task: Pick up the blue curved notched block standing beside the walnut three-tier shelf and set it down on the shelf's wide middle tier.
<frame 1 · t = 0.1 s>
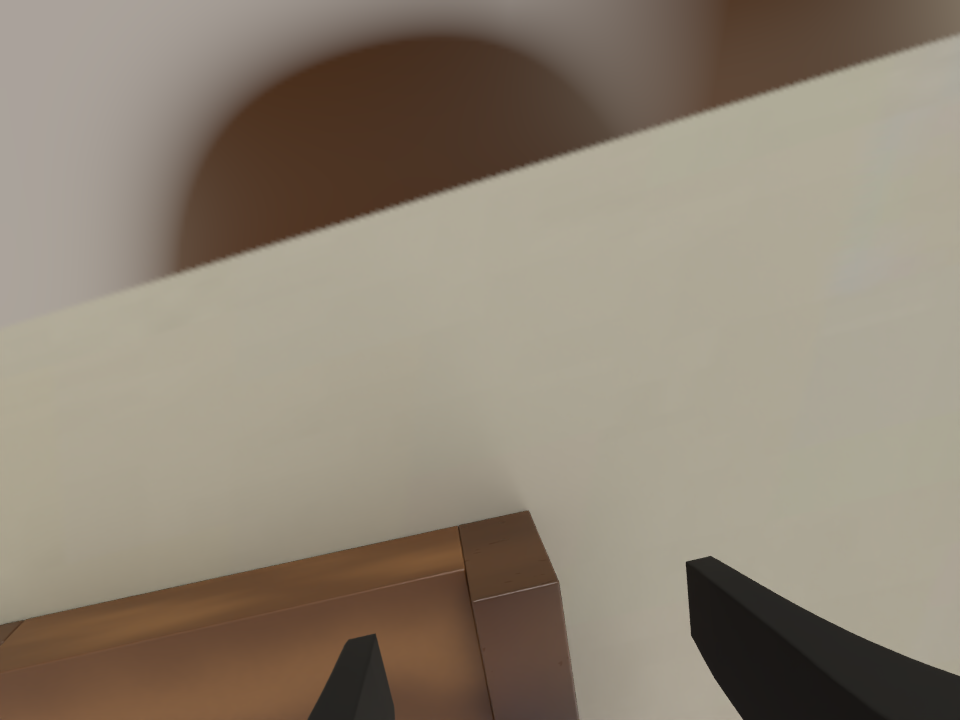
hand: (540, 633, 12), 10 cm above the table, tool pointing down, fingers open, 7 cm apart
step shelf: (287, 694, 24), on the table
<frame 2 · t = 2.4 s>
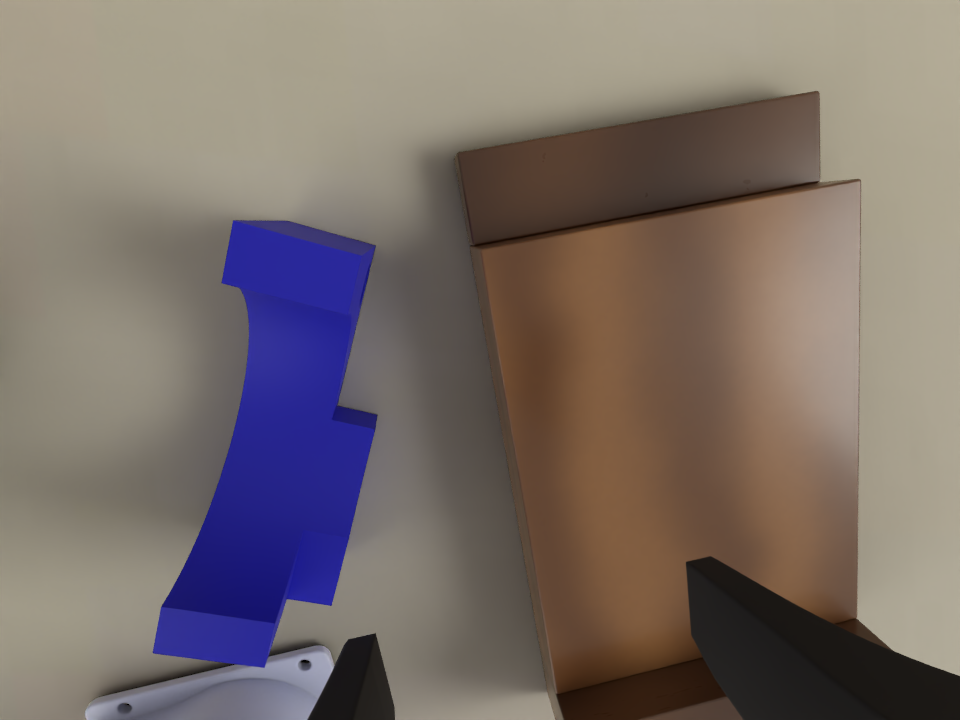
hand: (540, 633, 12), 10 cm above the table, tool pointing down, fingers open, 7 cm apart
blue curved notched block: (317, 399, 20), on the table
step shelf: (658, 429, 22), on the table
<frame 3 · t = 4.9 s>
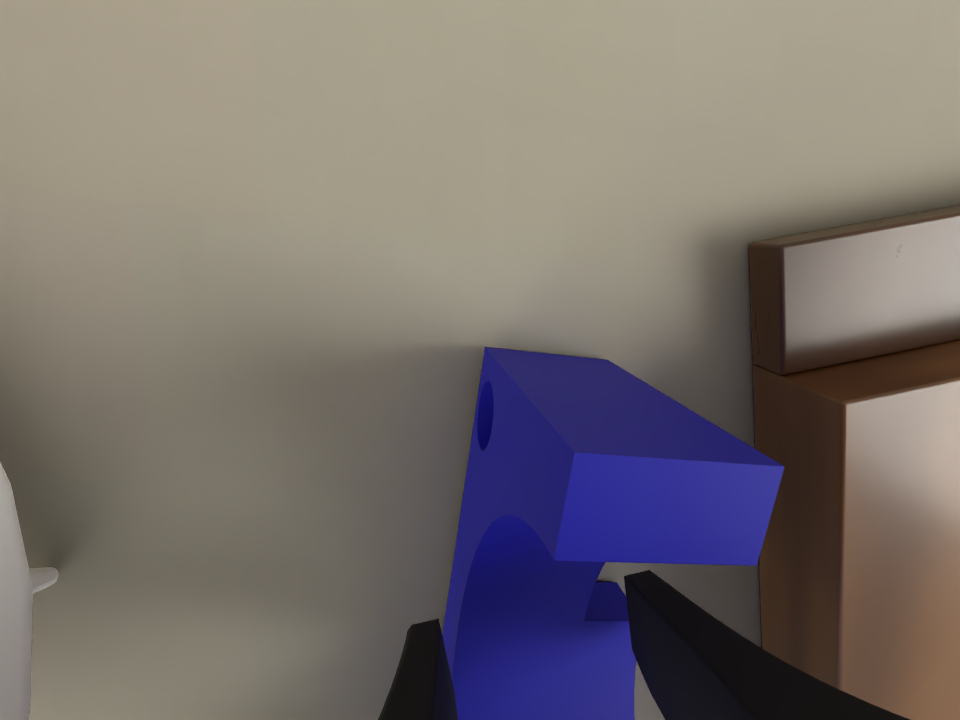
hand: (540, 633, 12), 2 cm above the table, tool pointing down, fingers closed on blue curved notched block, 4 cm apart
blue curved notched block: (534, 576, 14), on the table, touching gripper
step shelf: (957, 595, 16), on the table
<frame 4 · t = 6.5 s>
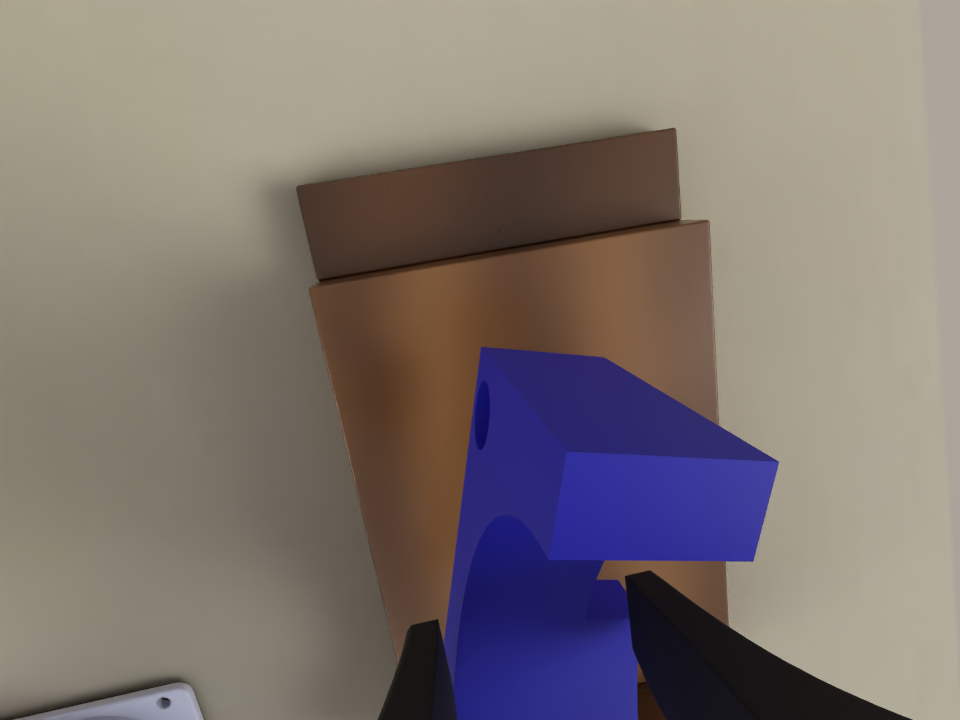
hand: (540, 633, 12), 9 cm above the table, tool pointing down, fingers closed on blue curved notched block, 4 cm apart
blue curved notched block: (535, 575, 14), point 7 cm above the table, touching gripper
step shelf: (530, 465, 22), on the table
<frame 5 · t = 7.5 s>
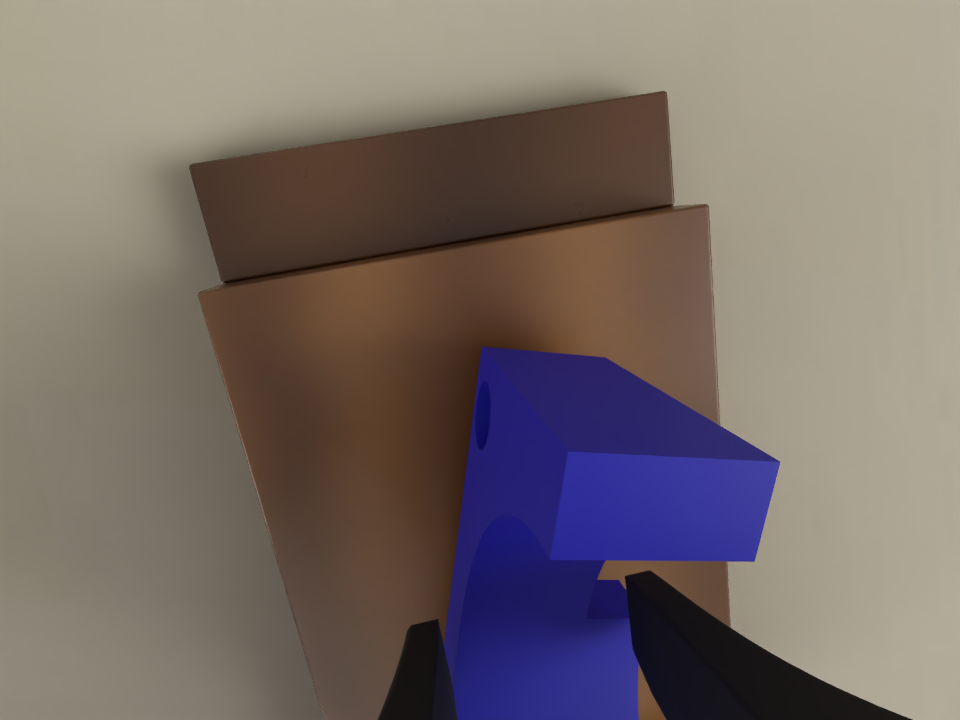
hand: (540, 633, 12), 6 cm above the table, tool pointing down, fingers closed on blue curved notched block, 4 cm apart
blue curved notched block: (536, 575, 14), point 4 cm above the table, touching gripper
step shelf: (497, 500, 18), on the table
when the fingers open (5 cm above the table, at t = 8.3 s): blue curved notched block stays where it is, resting on step shelf.
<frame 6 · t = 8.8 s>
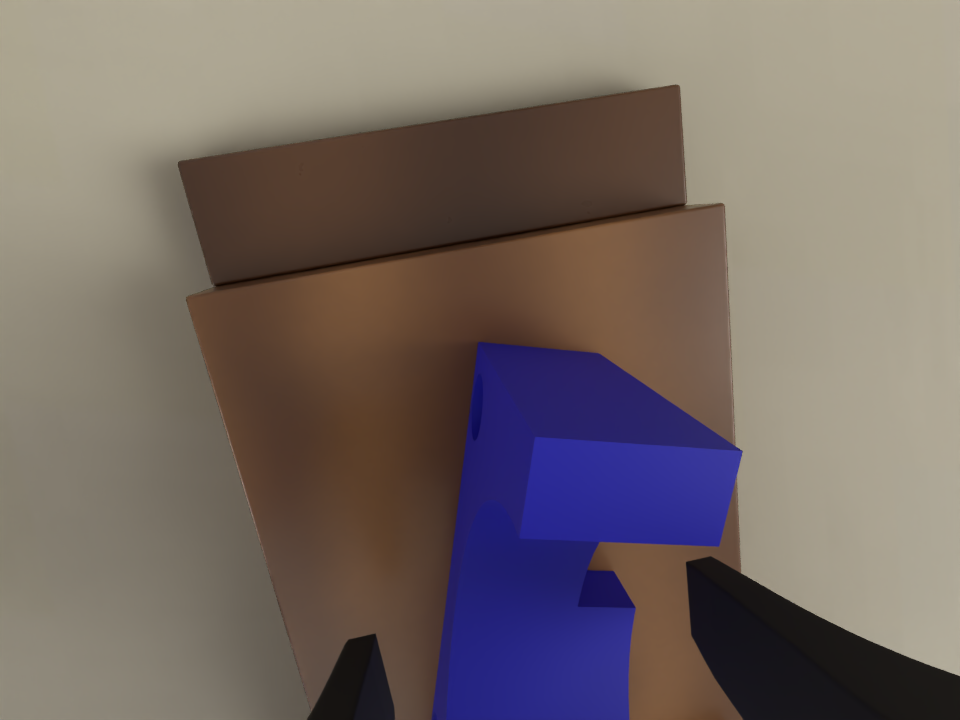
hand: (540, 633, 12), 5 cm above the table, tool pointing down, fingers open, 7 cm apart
blue curved notched block: (532, 564, 15), point 3 cm above the table, touching step shelf
step shelf: (500, 511, 18), on the table
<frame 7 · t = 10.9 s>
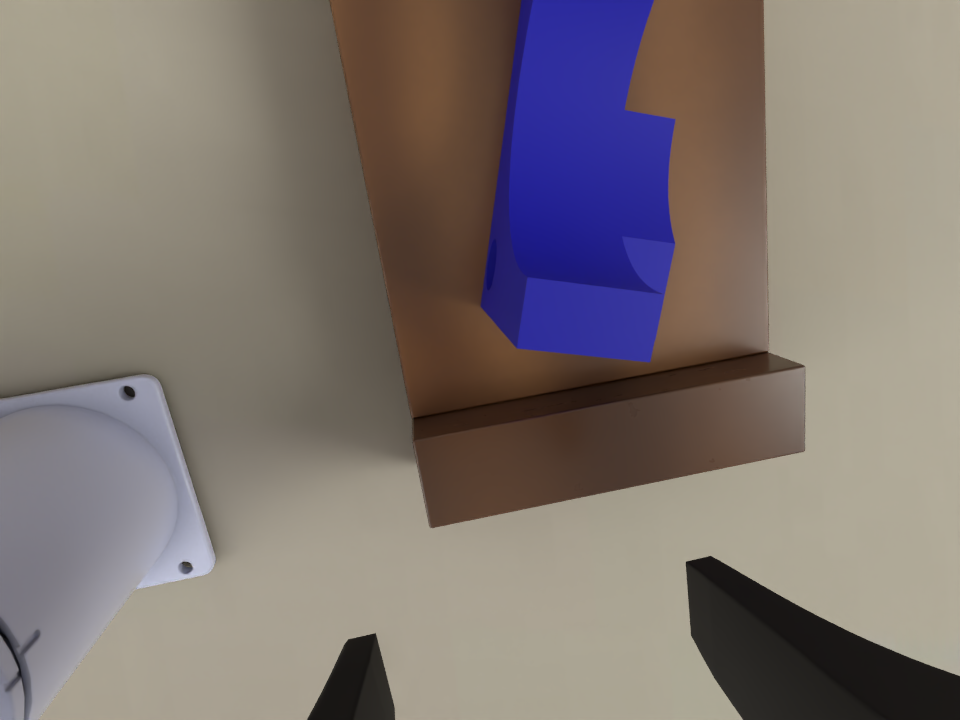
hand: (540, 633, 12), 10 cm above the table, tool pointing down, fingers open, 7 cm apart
blue curved notched block: (579, 116, 17), point 3 cm above the table, touching step shelf
step shelf: (544, 130, 19), on the table
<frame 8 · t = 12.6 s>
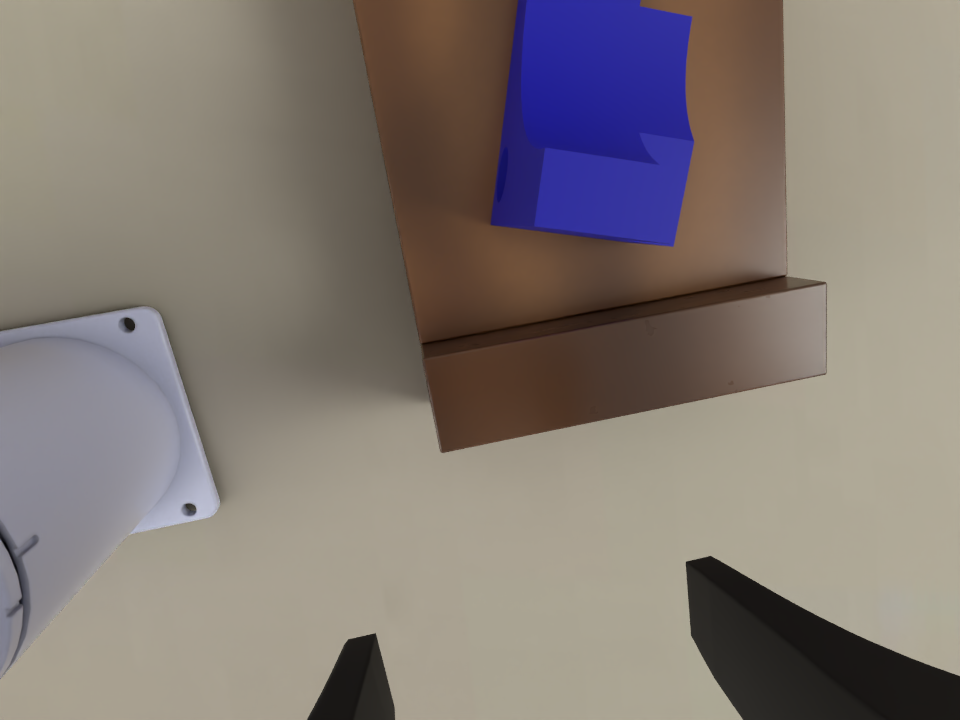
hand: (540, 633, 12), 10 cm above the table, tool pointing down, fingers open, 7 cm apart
blue curved notched block: (591, 23, 16), point 3 cm above the table, touching step shelf
step shelf: (553, 50, 19), on the table
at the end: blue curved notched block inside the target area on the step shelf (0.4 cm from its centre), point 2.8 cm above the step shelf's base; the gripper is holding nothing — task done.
